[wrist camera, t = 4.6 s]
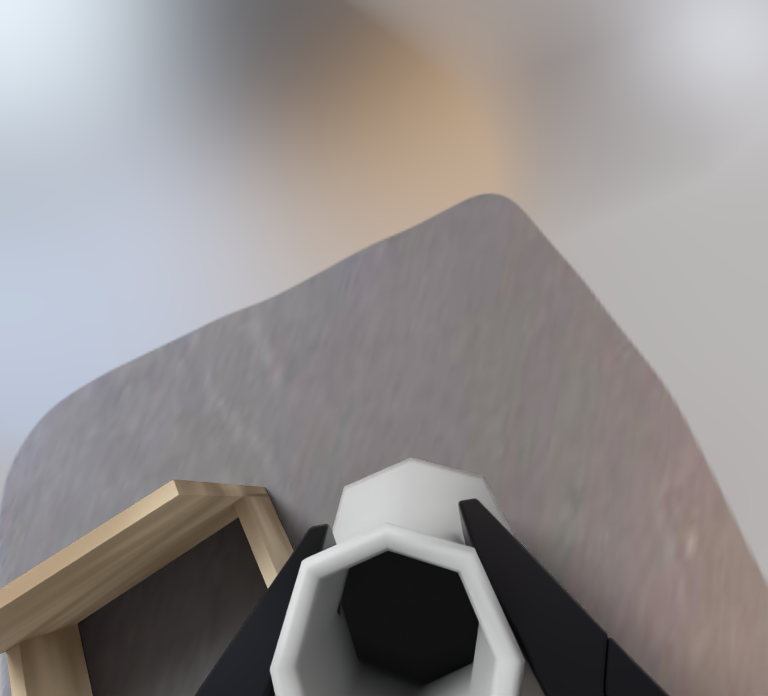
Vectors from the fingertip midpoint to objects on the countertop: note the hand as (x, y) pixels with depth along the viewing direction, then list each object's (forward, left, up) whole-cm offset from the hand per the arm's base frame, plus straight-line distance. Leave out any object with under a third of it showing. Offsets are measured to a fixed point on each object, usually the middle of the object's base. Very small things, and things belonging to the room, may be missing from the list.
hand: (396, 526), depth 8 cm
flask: (-1, +1, -7) cm, 7 cm away
